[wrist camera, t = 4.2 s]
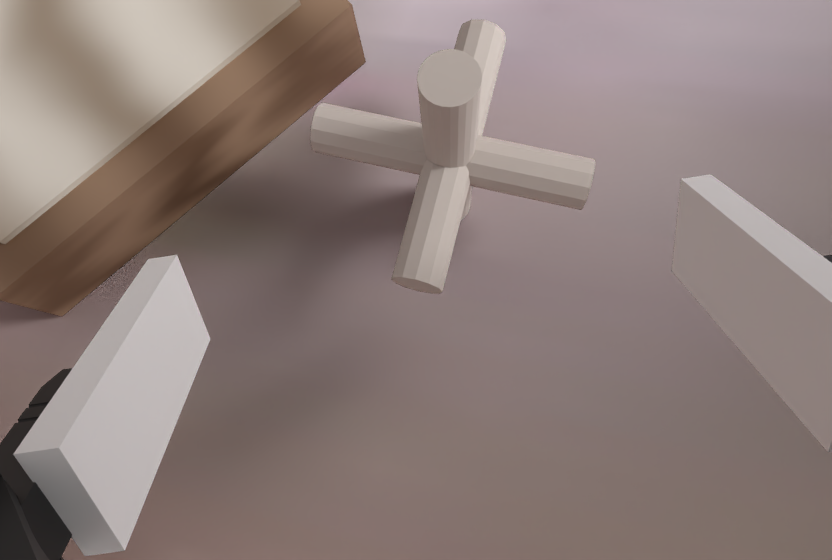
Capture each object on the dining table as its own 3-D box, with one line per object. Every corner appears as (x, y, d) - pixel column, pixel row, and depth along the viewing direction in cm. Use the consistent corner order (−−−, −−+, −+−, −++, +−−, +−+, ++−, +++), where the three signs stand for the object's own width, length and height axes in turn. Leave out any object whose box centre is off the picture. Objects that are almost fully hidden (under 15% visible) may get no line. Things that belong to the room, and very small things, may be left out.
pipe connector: (583, 126, 27) (659, -41, 17) (538, 339, 25) (595, 288, 15) (372, 84, 28) (329, -97, 18) (311, 284, 26) (226, 202, 16)
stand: (147, -149, 32) (101, -235, 28) (365, 62, 28) (350, -1, 24) (-134, 59, 30) (-229, 0, 26) (61, 316, 26) (-13, 296, 22)
